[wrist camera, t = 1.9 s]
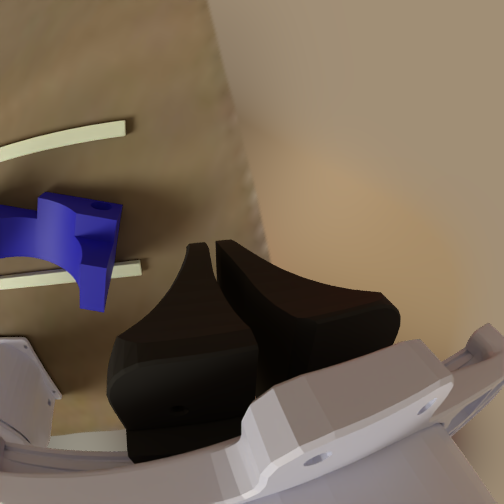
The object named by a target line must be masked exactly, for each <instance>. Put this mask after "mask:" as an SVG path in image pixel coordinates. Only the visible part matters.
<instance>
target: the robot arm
mask: <svg viewBox="0 0 504 504" xmlns="http://www.w3.org/2000/svg"><path fill="white" fill-rule="evenodd" d="M186 248H187V251H186V255H185V259H184V262H183V264H182V267H181V269H180V271H179V273H178V275H177V277H176V279H175V281H174V283H173V284H172V286H171V288H170V289H169V291H168V292H167V293H166V295H165V296H164V297H163V299H162V300H161V301H160V302H159V304H158V305H157V306H156V307H155V308H154V309H153V310H152V311H151V312H150V313H149V314H148V315H147V316H145V317H144V318H143V319H142V320H141V321H139V322H138V323H137V324H135V325H134V326H132V327H131V328H129V329H128V330H126V331H125V332H124V333H122V334H120V335H119V336H117V338H116V340H115V343H114V346H113V349H112V353H111V357H110V361H109V366H108V373H107V394H106V395H107V397H108V400H109V403H110V405H111V406H112V408H113V410H114V411H115V413H116V414H117V416H118V418H119V419H120V421H121V422H122V424H123V425H124V427H125V428H126V432H127V433H126V435H127V451H122V452H121V451H118V452H102V451H75V450H62V449H51V448H47V446H48V444H49V441H50V434H51V425H52V417H53V410H54V404H55V399H61V398H62V394H61V393H60V392H59V390H58V389H57V387H56V386H55V384H54V383H53V381H52V380H51V378H50V377H49V375H48V373H47V372H46V370H45V369H44V367H43V365H42V364H41V362H40V360H39V359H38V357H37V355H36V354H35V352H34V350H33V348H32V346H31V345H30V343H29V341H28V340H27V339H26V338H25V337H0V504H497V502H496V501H495V499H494V498H493V496H492V495H491V493H490V492H489V490H488V489H487V487H486V486H485V484H484V483H483V481H482V480H481V479H480V477H479V476H478V474H477V473H476V471H475V470H474V469H473V467H472V466H471V464H470V463H469V462H468V460H467V459H466V457H465V456H464V455H463V453H462V452H461V450H460V449H459V448H458V446H457V445H456V444H455V443H454V441H453V439H452V438H451V436H452V435H454V434H455V433H456V432H457V431H458V430H460V429H461V428H462V427H463V426H464V425H465V424H467V423H468V422H469V421H470V420H471V419H472V418H473V417H474V416H475V415H476V414H478V413H479V412H480V411H481V410H482V409H483V408H484V407H485V406H486V405H487V404H488V403H489V402H490V401H491V400H492V399H493V398H494V397H495V396H496V395H497V394H498V392H499V391H500V390H501V389H502V388H503V386H504V336H503V335H501V334H500V333H499V332H498V331H497V330H496V329H495V328H494V327H493V326H492V325H491V324H490V323H487V324H485V325H484V326H482V327H480V328H479V329H478V330H476V331H475V332H474V333H473V334H472V336H471V337H470V339H469V340H468V342H467V344H466V347H465V348H464V349H462V350H460V351H459V352H457V353H456V354H454V355H452V356H451V357H449V358H447V359H446V360H444V361H442V362H441V361H440V360H439V359H438V358H437V357H436V356H435V355H434V354H433V352H432V351H431V350H430V349H429V348H428V347H427V346H426V345H425V344H424V343H423V342H422V341H421V340H420V339H416V340H409V341H402V342H399V343H397V344H394V345H393V343H394V341H395V338H396V336H397V334H398V330H399V327H400V314H399V311H398V309H397V308H396V307H395V306H394V305H393V304H392V303H391V302H390V301H389V300H388V299H387V298H386V297H385V296H384V295H383V294H382V293H381V292H371V291H360V290H352V289H346V288H341V287H336V286H331V285H327V284H323V283H319V282H316V281H313V280H309V279H306V278H303V277H300V276H298V275H295V274H293V273H290V272H288V271H285V270H283V269H281V268H279V267H277V266H275V265H273V264H271V263H269V262H267V261H266V260H264V259H262V258H260V257H259V256H257V255H255V254H254V253H252V252H251V251H249V250H247V249H246V248H244V247H243V246H241V245H240V244H238V243H237V242H235V241H233V240H221V241H216V268H217V281H216V279H215V276H214V273H213V269H212V263H211V258H210V252H209V248H208V246H207V244H206V243H205V242H202V243H192V244H189V245H188V246H187V247H186ZM255 396H256V399H255Z"/></svg>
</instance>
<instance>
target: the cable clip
mask: <svg viewBox="0 0 504 504" xmlns="http://www.w3.org/2000/svg"><path fill="white" fill-rule="evenodd" d="M122 206H123V205H121V204H115V203H109V202H104V201H98V200H92V199H86V198H80V197H74V196H68V195H62V194H56V193H50V192H44V193H43V194H42V195H41V196H39V197H38V207H37V211H35V210H29V209H24V208H18V207H12V206H6V205H0V258H5V257H15V256H25V257H35V258H40V259H43V260H47V261H50V262H52V263H54V264H56V265H58V266H60V267H62V268H63V269H65V270H66V271H67V272H68V273H69V274H70V275H71V276H72V277H73V278H74V279H75V280H76V282H77V284H78V286H79V288H80V308H81V309H87V310H93V311H99V312H104V309H105V304H106V299H107V294H108V289H109V285H110V280H111V276H112V271H113V267H114V263H115V255H116V246H117V239H118V232H119V225H120V218H121V212H122Z"/></svg>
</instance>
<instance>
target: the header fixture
mask: <svg viewBox="0 0 504 504" xmlns="http://www.w3.org/2000/svg"><path fill="white" fill-rule="evenodd" d="M120 136H126V120H122V121H115V122H108V123H102V124H95V125H90V126H84V127H79V128H74V129H69V130H64V131H59V132H55V133H51V134H46V135H42V136H38V137H34V138H31V139H27V140H23V141H20V142H16V143H13V144H10V145H6V146H3V147H0V162H2V161H5V160H8V159H12V158H16V157H19V156H23V155H27V154H31V153H35V152H39V151H43V150H47V149H52V148H56V147H61V146H66V145H71V144H76V143H82V142H87V141H93V140H99V139H106V138H113V137H120ZM138 275H142V268H141V263H140V260H134V261H126V262H117V263H114V267H113V271H112V276H111V278H119V277H128V276H138ZM72 282H76V280H75V279H74V278H73V277H72V276H71V275H70V274H69V273H68V272H67V271H66V270H65V269H56V270H47V271H39V272H30V273H22V274H13V275H5V276H0V290H2V289H12V288H23V287H33V286H43V285H53V284H63V283H72Z"/></svg>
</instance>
